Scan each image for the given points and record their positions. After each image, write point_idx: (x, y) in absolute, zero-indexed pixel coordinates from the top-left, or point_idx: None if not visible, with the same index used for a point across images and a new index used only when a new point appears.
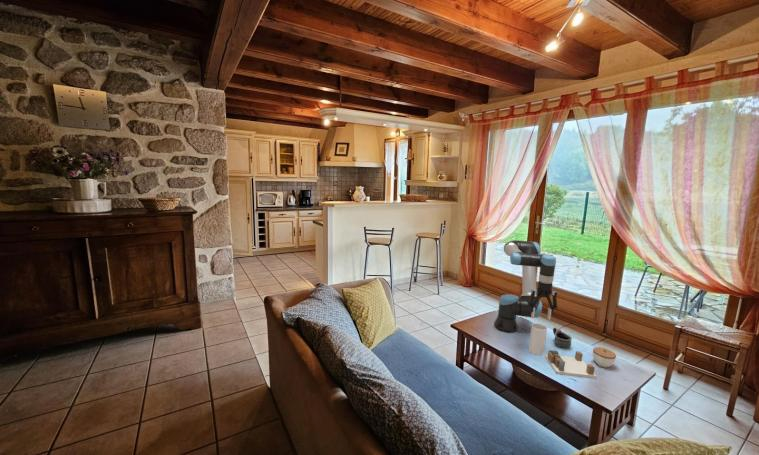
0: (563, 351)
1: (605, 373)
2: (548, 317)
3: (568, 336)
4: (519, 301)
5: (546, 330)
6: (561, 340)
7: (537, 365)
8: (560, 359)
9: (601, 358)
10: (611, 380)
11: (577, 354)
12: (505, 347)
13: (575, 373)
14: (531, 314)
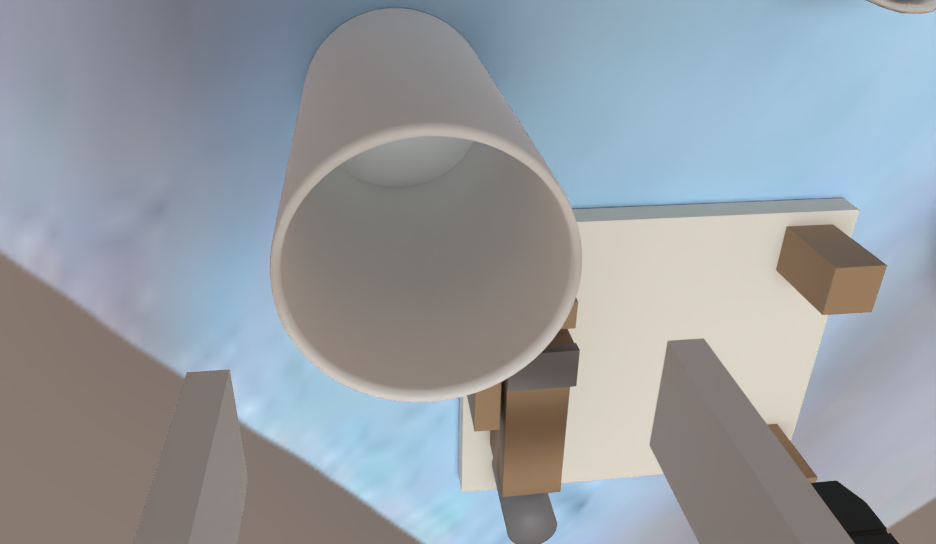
0: (773, 22)
1: (915, 356)
2: (674, 450)
3: None
4: None
5: (541, 326)
6: None
7: (322, 396)
8: (540, 474)
9: None
10: (881, 435)
11: (815, 299)
12: None
13: (620, 475)
14: (175, 427)
